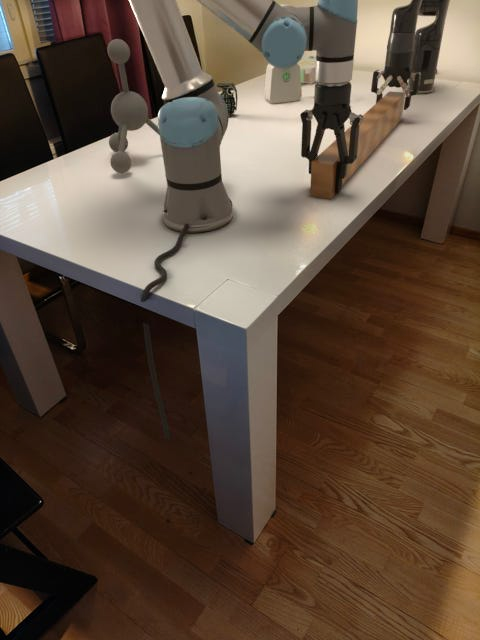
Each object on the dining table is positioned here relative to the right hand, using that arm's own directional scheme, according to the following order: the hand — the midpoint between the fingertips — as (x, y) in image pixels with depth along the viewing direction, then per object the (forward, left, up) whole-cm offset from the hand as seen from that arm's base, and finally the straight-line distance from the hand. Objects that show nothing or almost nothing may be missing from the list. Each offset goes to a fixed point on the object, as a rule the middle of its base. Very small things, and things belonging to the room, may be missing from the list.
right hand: (392, 108), depth 152 cm
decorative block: (-51, -49, -4) cm, 71 cm away
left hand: (+58, 0, -4) cm, 58 cm away
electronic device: (-15, -44, -4) cm, 47 cm away
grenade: (+10, -54, -4) cm, 55 cm away
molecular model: (+55, -55, -4) cm, 78 cm away
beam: (+29, 0, -4) cm, 29 cm away
